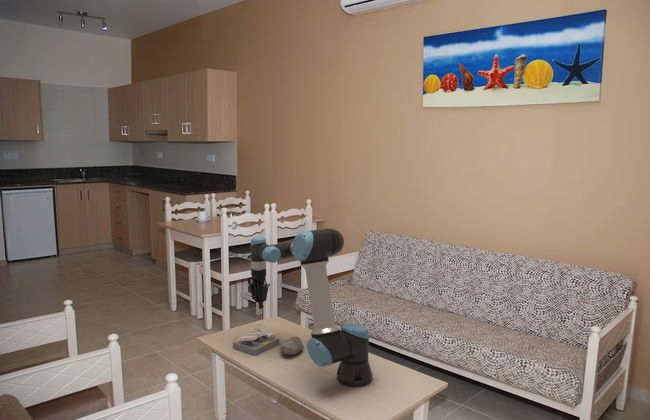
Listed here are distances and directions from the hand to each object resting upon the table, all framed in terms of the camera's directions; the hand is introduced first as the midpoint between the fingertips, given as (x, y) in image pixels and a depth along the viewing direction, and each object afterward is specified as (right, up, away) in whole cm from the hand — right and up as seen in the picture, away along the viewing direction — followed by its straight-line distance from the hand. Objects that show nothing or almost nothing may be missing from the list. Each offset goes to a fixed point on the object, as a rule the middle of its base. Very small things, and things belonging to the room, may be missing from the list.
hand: (259, 314), depth 248 cm
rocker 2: (-1, -9, -6) cm, 11 cm away
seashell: (+17, -16, -12) cm, 26 cm away
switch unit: (-1, -15, -5) cm, 16 cm away
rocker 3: (+3, -9, -2) cm, 9 cm away
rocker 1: (-4, -10, -10) cm, 15 cm away
